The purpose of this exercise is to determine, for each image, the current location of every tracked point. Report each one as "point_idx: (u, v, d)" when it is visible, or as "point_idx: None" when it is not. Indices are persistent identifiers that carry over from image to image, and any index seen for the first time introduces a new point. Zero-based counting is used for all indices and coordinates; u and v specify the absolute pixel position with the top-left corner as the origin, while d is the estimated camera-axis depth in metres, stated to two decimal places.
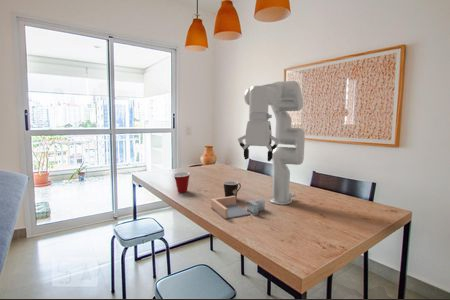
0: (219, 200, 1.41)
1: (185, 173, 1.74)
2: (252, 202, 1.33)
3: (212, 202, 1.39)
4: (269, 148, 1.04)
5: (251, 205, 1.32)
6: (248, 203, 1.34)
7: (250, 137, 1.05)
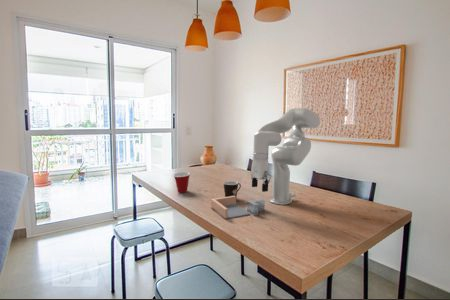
0: (219, 200, 1.41)
1: (185, 173, 1.74)
2: (252, 202, 1.33)
3: (212, 202, 1.39)
4: None
5: (251, 205, 1.32)
6: (248, 203, 1.34)
7: None
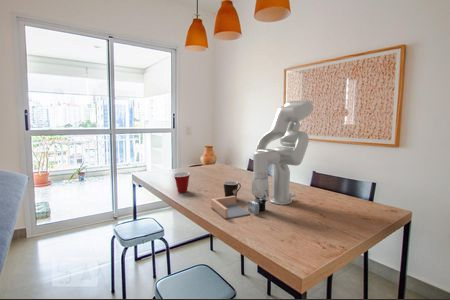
0: (219, 200, 1.41)
1: (185, 173, 1.74)
2: (253, 202, 1.34)
3: (212, 202, 1.39)
4: None
5: (252, 205, 1.32)
6: (249, 203, 1.35)
7: None
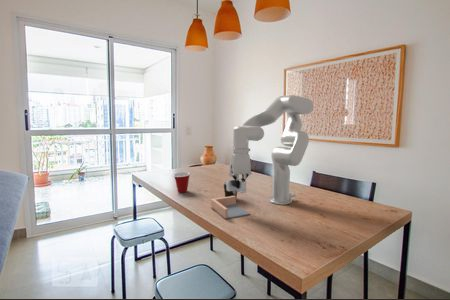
0: (219, 200, 1.41)
1: (185, 173, 1.74)
2: (233, 179, 1.35)
3: (212, 202, 1.39)
4: (245, 177, 1.32)
5: None
6: None
7: (238, 168, 1.28)
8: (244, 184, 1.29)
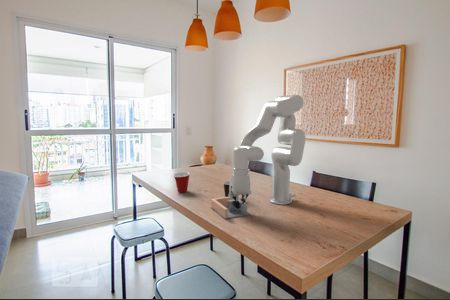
0: (219, 200, 1.41)
1: (185, 173, 1.74)
2: None
3: (212, 202, 1.39)
4: (245, 197, 1.33)
5: None
6: None
7: (238, 188, 1.29)
8: (245, 206, 1.29)
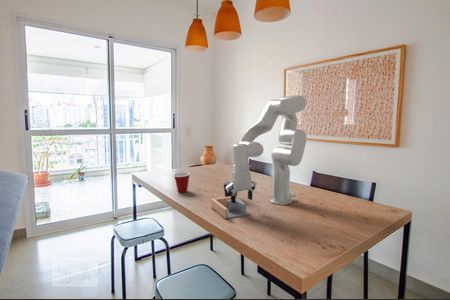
0: (219, 200, 1.41)
1: (185, 173, 1.74)
2: None
3: (212, 202, 1.39)
4: (251, 190, 1.35)
5: None
6: None
7: (239, 185, 1.30)
8: (244, 206, 1.30)
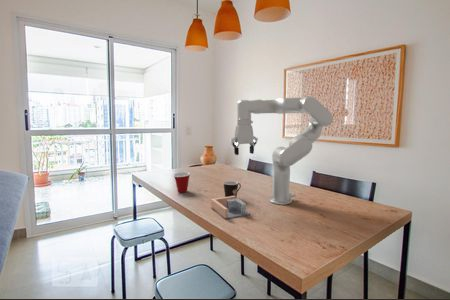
0: (219, 200, 1.41)
1: (185, 173, 1.74)
2: (233, 199, 1.36)
3: (212, 202, 1.39)
4: (253, 144, 1.47)
5: None
6: None
7: (242, 137, 1.42)
8: (244, 206, 1.30)
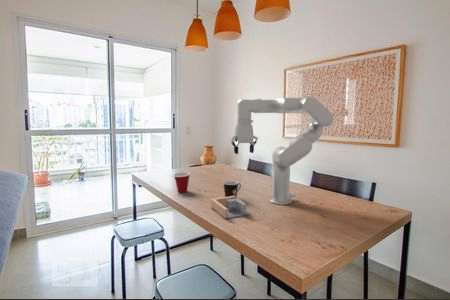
0: (219, 200, 1.41)
1: (185, 173, 1.74)
2: (233, 199, 1.36)
3: (212, 202, 1.39)
4: (253, 143, 1.47)
5: None
6: None
7: (242, 137, 1.43)
8: (244, 206, 1.30)
